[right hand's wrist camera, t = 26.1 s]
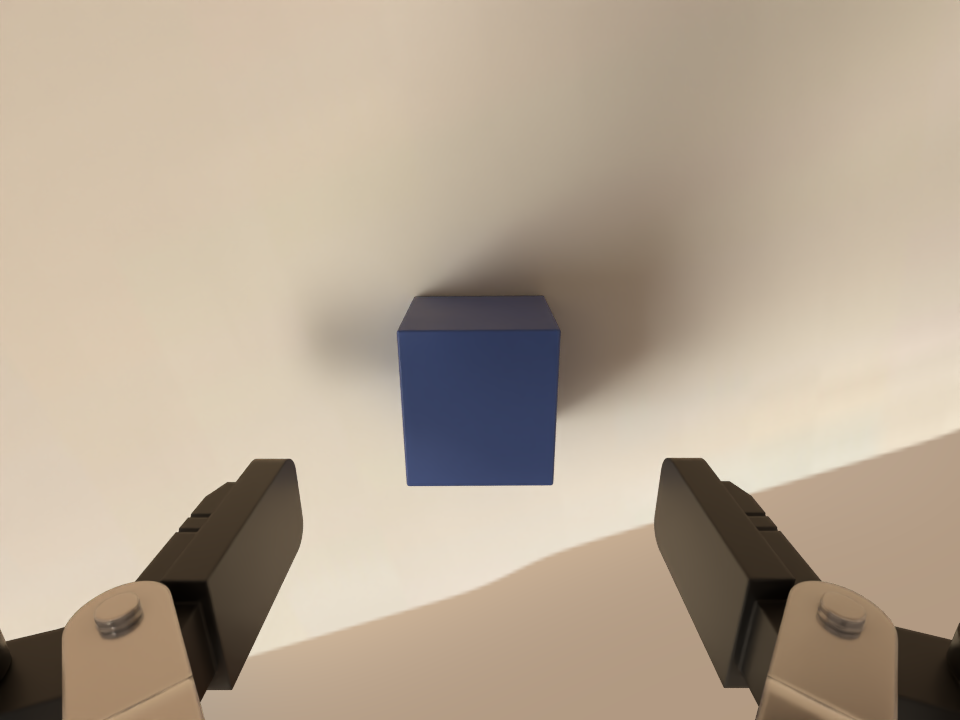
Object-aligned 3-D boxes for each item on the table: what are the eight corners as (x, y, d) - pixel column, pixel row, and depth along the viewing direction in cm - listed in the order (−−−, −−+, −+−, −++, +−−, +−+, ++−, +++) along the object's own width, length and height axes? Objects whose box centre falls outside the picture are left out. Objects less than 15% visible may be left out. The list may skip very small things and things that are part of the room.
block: (414, 296, 18) (396, 330, 14) (544, 295, 18) (561, 329, 14) (420, 425, 20) (406, 487, 16) (539, 424, 20) (553, 486, 16)
